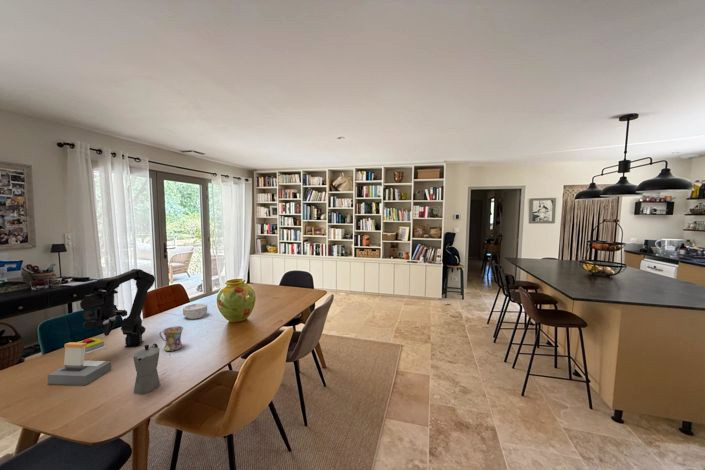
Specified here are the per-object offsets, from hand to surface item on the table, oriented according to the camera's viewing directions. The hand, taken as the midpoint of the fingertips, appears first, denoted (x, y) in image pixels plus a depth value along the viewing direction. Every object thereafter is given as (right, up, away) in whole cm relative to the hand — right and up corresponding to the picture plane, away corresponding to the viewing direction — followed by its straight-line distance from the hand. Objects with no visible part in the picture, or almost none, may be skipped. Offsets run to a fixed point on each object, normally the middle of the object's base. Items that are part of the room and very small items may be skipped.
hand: (106, 335), depth 138 cm
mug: (+23, -12, +14) cm, 29 cm away
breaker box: (+2, -13, -15) cm, 20 cm away
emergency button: (-21, -12, +13) cm, 27 cm away
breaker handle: (0, -7, -16) cm, 18 cm away
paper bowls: (+8, -10, +63) cm, 64 cm away
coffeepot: (+35, -14, -20) cm, 43 cm away
